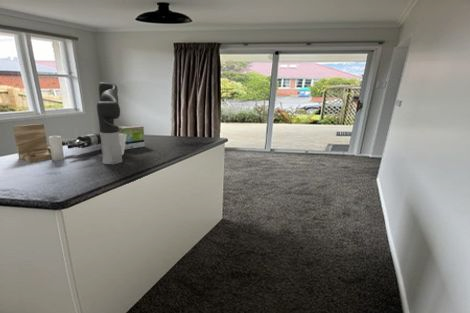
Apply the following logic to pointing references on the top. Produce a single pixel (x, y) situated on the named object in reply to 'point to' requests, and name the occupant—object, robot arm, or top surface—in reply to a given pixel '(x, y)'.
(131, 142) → the tea box
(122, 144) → the cup
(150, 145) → the top surface
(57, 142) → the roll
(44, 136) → the holder
